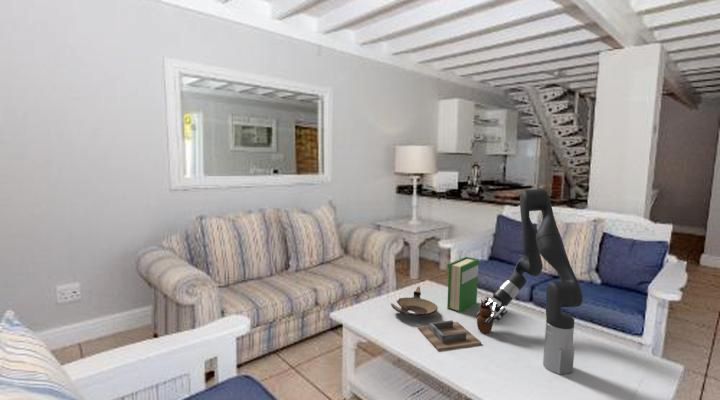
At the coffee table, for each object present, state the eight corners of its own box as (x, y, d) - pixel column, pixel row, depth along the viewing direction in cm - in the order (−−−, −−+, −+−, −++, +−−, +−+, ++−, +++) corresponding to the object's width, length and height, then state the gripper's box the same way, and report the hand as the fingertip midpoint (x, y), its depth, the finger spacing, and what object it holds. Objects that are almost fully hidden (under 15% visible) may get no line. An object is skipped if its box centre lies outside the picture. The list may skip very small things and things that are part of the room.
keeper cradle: (481, 344, 161) (481, 335, 161) (437, 350, 156) (438, 341, 156) (457, 323, 180) (457, 315, 180) (417, 328, 175) (418, 320, 175)
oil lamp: (382, 317, 187) (382, 301, 186) (410, 297, 212) (411, 284, 211) (424, 329, 175) (424, 313, 174) (449, 307, 199) (450, 293, 198)
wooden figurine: (475, 332, 172) (476, 300, 170) (478, 327, 177) (479, 296, 175) (491, 335, 169) (492, 303, 167) (493, 330, 174) (495, 298, 172)
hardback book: (460, 313, 192) (462, 266, 189) (447, 309, 197) (449, 263, 194) (476, 303, 205) (478, 259, 202) (463, 299, 210) (465, 256, 207)
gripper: (491, 282, 179) (468, 309, 178) (511, 293, 165) (486, 322, 164) (501, 292, 181) (477, 318, 180) (521, 304, 168) (496, 332, 166)
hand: (481, 320), depth 172 cm, fingers closed on wooden figurine, 6 cm apart
